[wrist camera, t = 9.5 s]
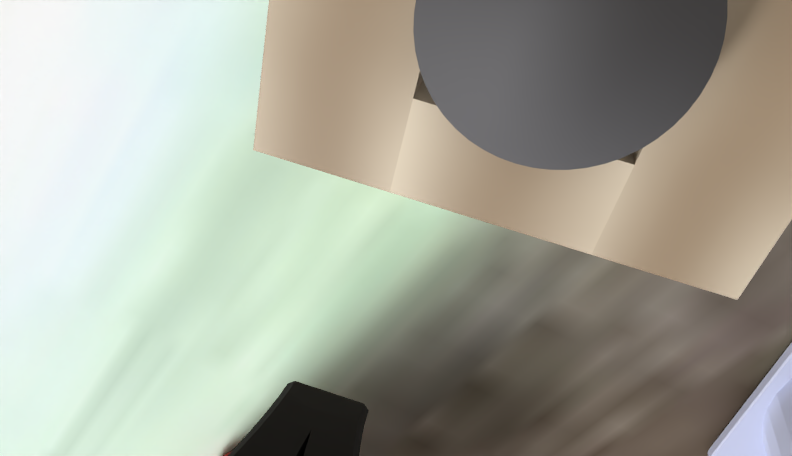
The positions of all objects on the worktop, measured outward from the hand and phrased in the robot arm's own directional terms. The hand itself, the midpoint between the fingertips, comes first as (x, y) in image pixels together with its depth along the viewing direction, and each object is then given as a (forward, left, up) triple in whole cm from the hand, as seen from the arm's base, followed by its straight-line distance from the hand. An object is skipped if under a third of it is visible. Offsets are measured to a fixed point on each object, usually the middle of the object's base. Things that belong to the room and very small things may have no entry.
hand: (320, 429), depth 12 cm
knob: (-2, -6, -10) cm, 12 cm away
